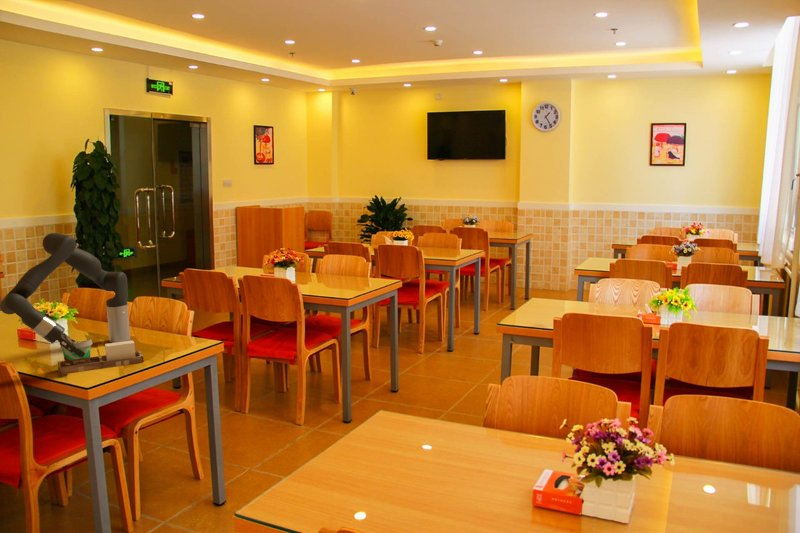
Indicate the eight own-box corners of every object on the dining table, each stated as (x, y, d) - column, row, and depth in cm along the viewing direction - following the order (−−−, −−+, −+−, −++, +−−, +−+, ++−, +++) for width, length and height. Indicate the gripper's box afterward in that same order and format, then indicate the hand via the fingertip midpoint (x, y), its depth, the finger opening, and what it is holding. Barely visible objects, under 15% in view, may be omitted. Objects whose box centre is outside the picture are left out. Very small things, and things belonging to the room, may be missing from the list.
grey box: (106, 362, 287) (105, 343, 286) (134, 358, 292) (133, 340, 291) (107, 365, 283) (105, 346, 282) (135, 361, 288) (134, 342, 286)
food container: (67, 370, 273) (65, 345, 272) (61, 367, 278) (59, 343, 276) (98, 363, 282) (97, 340, 281) (92, 361, 286) (90, 337, 285)
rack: (58, 369, 282) (57, 361, 281) (140, 358, 296) (140, 350, 295) (58, 376, 272) (57, 368, 272) (143, 364, 286) (143, 356, 286)
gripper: (55, 325, 268) (90, 350, 275) (55, 318, 281) (88, 342, 287) (41, 340, 266) (77, 365, 273) (41, 332, 279) (76, 356, 286)
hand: (83, 353), depth 280 cm, fingers open, 7 cm apart
